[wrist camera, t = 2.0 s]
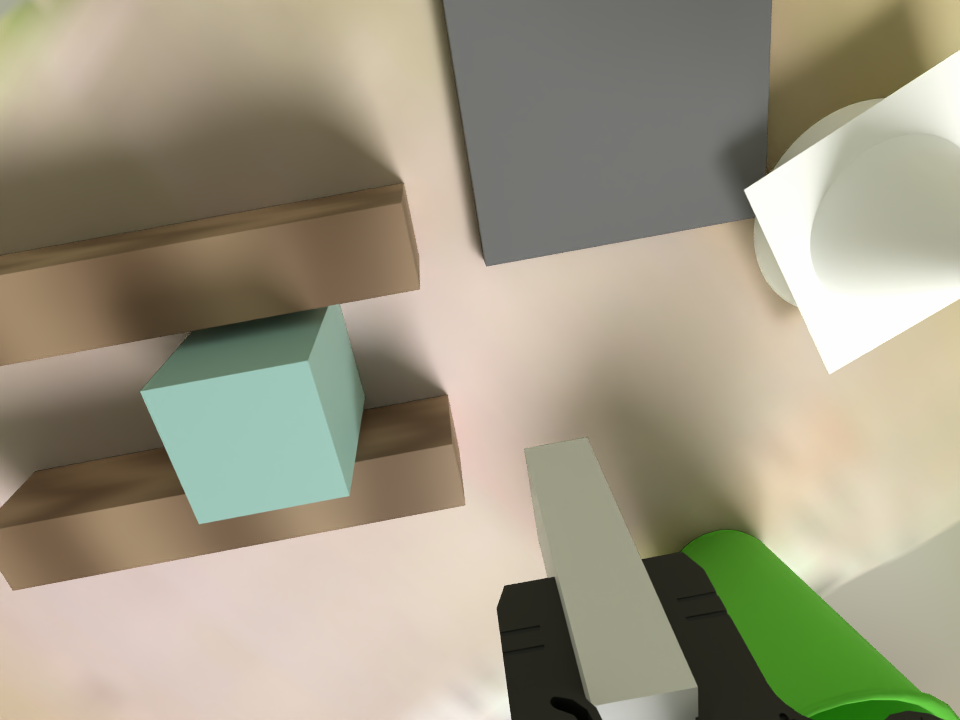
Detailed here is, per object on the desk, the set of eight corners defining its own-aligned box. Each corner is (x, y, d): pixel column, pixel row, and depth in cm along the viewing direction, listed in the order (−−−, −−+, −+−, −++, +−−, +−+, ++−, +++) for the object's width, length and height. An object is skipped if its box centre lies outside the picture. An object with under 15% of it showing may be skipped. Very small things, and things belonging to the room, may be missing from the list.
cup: (601, 556, 32) (685, 775, 22) (761, 464, 30) (929, 655, 20) (678, 653, 35) (781, 881, 25) (825, 575, 34) (995, 784, 24)
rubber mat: (484, 260, 25) (486, 266, 24) (431, -66, 20) (431, -71, 20) (754, 211, 25) (764, 215, 24) (763, -124, 20) (776, -131, 20)
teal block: (250, 418, 27) (199, 524, 21) (210, 310, 25) (140, 391, 18) (365, 396, 27) (349, 495, 21) (335, 287, 25) (307, 360, 19)
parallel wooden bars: (64, 524, 28) (12, 590, 25) (-78, 269, 23) (-170, 305, 19) (459, 450, 28) (465, 505, 25) (403, 182, 23) (401, 202, 20)
